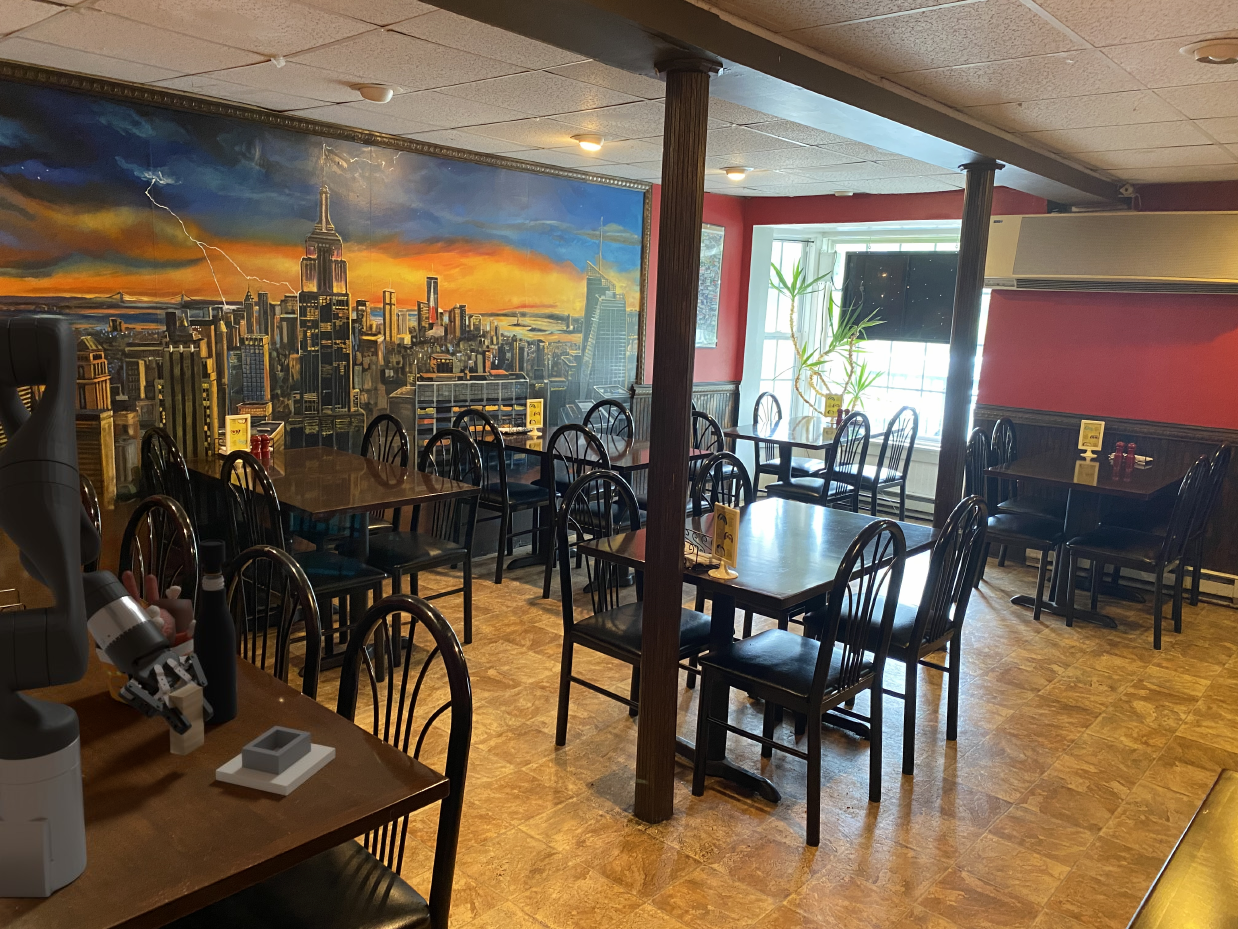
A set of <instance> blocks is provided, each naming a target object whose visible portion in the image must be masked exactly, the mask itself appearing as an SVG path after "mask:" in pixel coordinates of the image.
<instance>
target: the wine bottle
mask: <svg viewBox="0 0 1238 929" xmlns="http://www.w3.org/2000/svg"><path fill="white" fill-rule="evenodd" d="M198 550H199V551H198V557H199V563H200V564H201V565H203V566H204V567H203V569H204V572H203V575H204V576H203V577H202V580H201V583H202V584H201V586H202V587H201V588H200V608H199V609H198V610H199V611H198V613H197V617H196V619H195V621H196V623H195V628H194V634H193V653H195V654H196V655H197V658H198V660H199V663H200V665H201V668H202V670H203V673H204V675H205V678H206V680H207V685H206V686H205V687H204V688H203V697H204V698H205V699H206V701H207V702H208V703H209V705H210V706H211V707H212V709H213V713H214V714H213V716H212V717H211V718H210V719H209V720H207V721H206V722H204V725H216V724H217V725H218V724H222V723H226V722H229V721H232V719H235V718H236V717H237V715H238V679H237V678H238V675H237V673H238V672H237V671H238V670H237V636H236V635H237V634H236V627H235V623H234V619H233V617H232V613H231V611H230V609H229V607H228V604H227V588H226V587H225V582H224V581H225V578H224V576H223V574H222V564H224V563H225V562H226V542H225V540H221V539H206V540H202V541H199V543H198ZM221 574H222V575H221ZM196 681H197V679H196ZM197 683H198V682H197Z"/></svg>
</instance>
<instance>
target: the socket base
mask: <svg viewBox="0 0 1238 929" xmlns="http://www.w3.org/2000/svg"><path fill="white" fill-rule="evenodd" d="M335 758H336V748H335V747H331V746H326V745H322V744H315V743H312V732H309V731H304V730H299V729H295V728H288V727H284V726H279V725H274V726H273V727H271V728H270V729H268V730H267V731H265V732H264V733H262V734H261V735H259V736H258V737H257V738H255V739H254V740H252V741H250V742H249V743H247V744H246V745H245V746H243V747H241V753H239V754H238V755H236V756H235V757H234V758H232V759H230V760H229V761H228V762H226V763H225V764H223V765H221V766H220V767H219V768H216V770H215V780H216V781H219V782H224V783H228V784H234V785H238V786H242V787H247V788H251V789H255V790H260V791H263V792H264V791H265V792H269V793H273V794H277V795H282V796H286V797H287V796H289V795H290V794H291V793H293V791H295V790H296V789H297V788H299V787H300V786H301V785H302V784H304V783H305V782H306V781H307V780H309V779H310V778H312V776H314V775H315V774H316V773H318V772H319V771H320V770H321V769H323V768H324V767H325V766H326V765H328V764H329V763H330V762H331V761H333V760H334V759H335Z"/></svg>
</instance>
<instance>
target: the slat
mask: <svg viewBox="0 0 1238 929" xmlns="http://www.w3.org/2000/svg"><path fill="white" fill-rule="evenodd" d="M169 696H170V697H171V699H172V700H173V701H174V703H175V706H174V708H175V707H178V709H179V710H180V711H181V712H182V714H183V715H185V717H186V718H187V719H188V720H189V722H190V723H191V725H192V727H191V729H190V730H188V731H187V732H186V733H185V734H183V735H180V734H179V733H177V732H175V731H174V730H173V729H172V727H171V726H170V725H169V743H170V744H169V745H170V746H169V747H170V753H171V754H177V755H181V756H186V755H188V754H190V753H191V752H193V751H195V750H197V749H198V748H199V747H201V746H203V745H204V744H205V732H204V731H205V727H204V726H205V724H204V722H203V687H200V686H194V685H189V684H188V685H186V686H185V687H183V688H181V689H179V690H177V691H175V692H173V693H171V694H169Z"/></svg>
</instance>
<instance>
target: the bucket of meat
mask: <svg viewBox="0 0 1238 929" xmlns="http://www.w3.org/2000/svg"><path fill="white" fill-rule="evenodd" d="M121 579H122V583H123V584H122V585H123V586H124V588H125V589H126V590H127V591H128V593H129V594H130V595H131V597H132V598H133V599H134V600H135V601H136V602H137V603H138V604H139V605H140V606H141V607H142V608H143V605H142V602H141V598H140V594H139V591H138V588H137V583H136V580H135V576H134V573H133V572H132V571H130V570H126V571H123V572H122V576H121ZM157 579H158V578H157V577H156V576H155V575H153V574H148V575H146V576H145V578H144V587H145V592H146V593H145V594H146V601H147V607H144V608H143V609H144V610H145V611H146V613H147V614H148V615H149V617H150V618H151V619H152V620H153V622H154V623H155V624H156V625H157V627H158V628H159V629H160V631H161V632H162V633H163V634H164V636H165V637H166V638H167V639H168V641H169V649H170V650H171V651H172V652H173V653H175V654H177V655H178V656H179V657H183V656H188V655H189V654H190V653H194V649H193V634H194V628H195V623H196V619H195V617H194V616H195V615H194V610H193V604H192V602H193V601H192V600H191V599H187V598H185V599H182V598H178V597H179V595H180V593H181V591H182V588H181V587H180V586H177V585H174V586H173V585H172V586H170V587H169V588H168V589H166V590H165V595H166V596H167V597H168V598H160V595H159V588H158V580H157ZM93 640H94V646H95V650H96V654H97V656H98V658H99V662H100V666H101V668H102V672H103V675H104V678H105V681H106V684H107V686H108V690H109V693H110V696H111V698H112V699H114V700H116V701H117V702H119V701H120V703H122V704H126V705H129V704H128V703H127V702H125V701H124V700H123V699H121V698H120V697H119V696H118V692H119V691H120V690H121V689H122V688H123V687H124V686H125V685H126V684H127V683H128V682H129V680H128V676H127V674H122V673H121V672H120V671H119V670H118V669H117V667H116V666H115V665H114V664H113V662H112V661H111V660H110V658H109V657H108V656H107V655H106V653H105V652H104V651H103V649H102V648H101V647H100V645H99V644H98V643H97V642H96V640H95V639H94V638H93ZM180 683H181V679H180V681H179V682H178V683H177V684H180ZM171 693H172V692H170V694H171ZM144 704H146V703H144Z"/></svg>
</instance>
